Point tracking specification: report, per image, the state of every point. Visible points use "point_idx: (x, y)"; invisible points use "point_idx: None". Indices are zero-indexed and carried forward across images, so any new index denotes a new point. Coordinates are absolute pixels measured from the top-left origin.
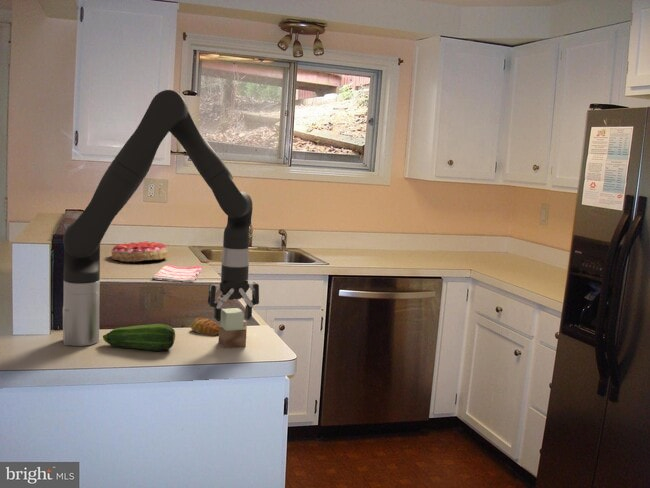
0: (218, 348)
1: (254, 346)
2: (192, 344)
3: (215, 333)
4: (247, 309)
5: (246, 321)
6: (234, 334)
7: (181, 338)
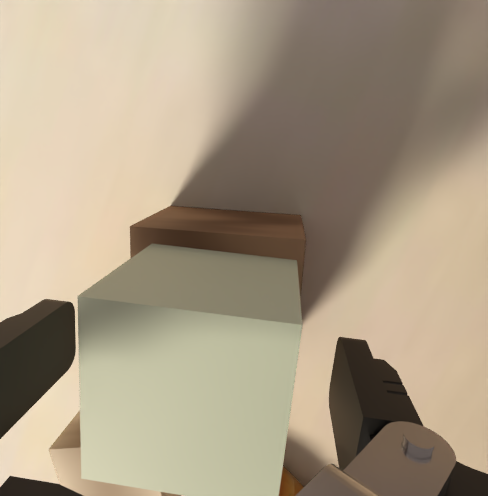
0: (338, 234)
1: (118, 193)
2: (448, 356)
3: None
4: (5, 359)
5: (52, 447)
6: (234, 228)
7: None
